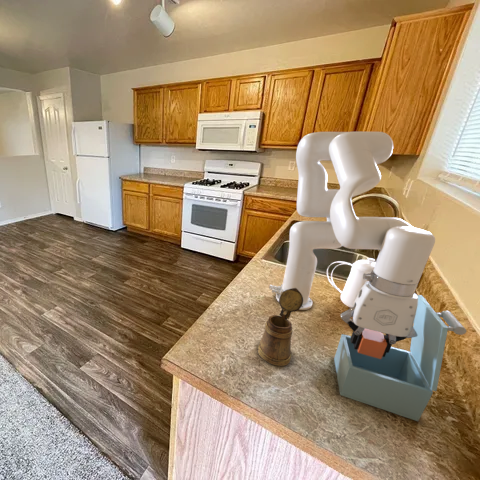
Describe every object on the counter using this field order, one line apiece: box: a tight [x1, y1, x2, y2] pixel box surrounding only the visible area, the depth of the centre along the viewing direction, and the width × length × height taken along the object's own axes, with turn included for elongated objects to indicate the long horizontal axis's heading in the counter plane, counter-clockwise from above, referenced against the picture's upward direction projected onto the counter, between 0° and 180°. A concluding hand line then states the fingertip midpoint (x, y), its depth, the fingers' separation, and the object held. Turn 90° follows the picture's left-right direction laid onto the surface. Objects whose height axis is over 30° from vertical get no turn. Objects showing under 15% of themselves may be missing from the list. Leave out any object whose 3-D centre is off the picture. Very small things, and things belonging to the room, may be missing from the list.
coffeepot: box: [326, 257, 376, 309], centre depth 96 cm, size 11×25×19 cm, turn 44°
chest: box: [333, 333, 434, 422], centre depth 65 cm, size 15×13×9 cm
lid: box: [409, 294, 467, 392], centre depth 57 cm, size 15×13×5 cm
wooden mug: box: [257, 288, 303, 367], centre depth 74 cm, size 9×14×18 cm, turn 136°
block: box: [357, 329, 387, 359], centre depth 63 cm, size 4×4×4 cm
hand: (367, 348), depth 64 cm, fingers closed on block, 4 cm apart
